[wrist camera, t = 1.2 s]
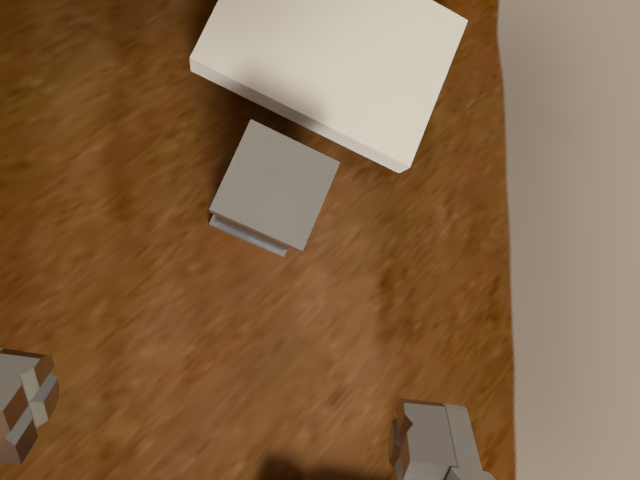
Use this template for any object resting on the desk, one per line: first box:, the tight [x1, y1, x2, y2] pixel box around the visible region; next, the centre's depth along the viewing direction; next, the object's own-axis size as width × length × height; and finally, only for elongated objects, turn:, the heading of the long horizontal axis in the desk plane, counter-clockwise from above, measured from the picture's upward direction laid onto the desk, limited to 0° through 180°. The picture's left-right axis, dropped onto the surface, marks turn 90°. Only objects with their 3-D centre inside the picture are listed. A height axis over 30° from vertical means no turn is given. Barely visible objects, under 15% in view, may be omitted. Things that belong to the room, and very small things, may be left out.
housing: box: [209, 119, 340, 257], centre depth 31 cm, size 6×6×8 cm
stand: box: [190, 0, 468, 173], centre depth 35 cm, size 16×12×4 cm
